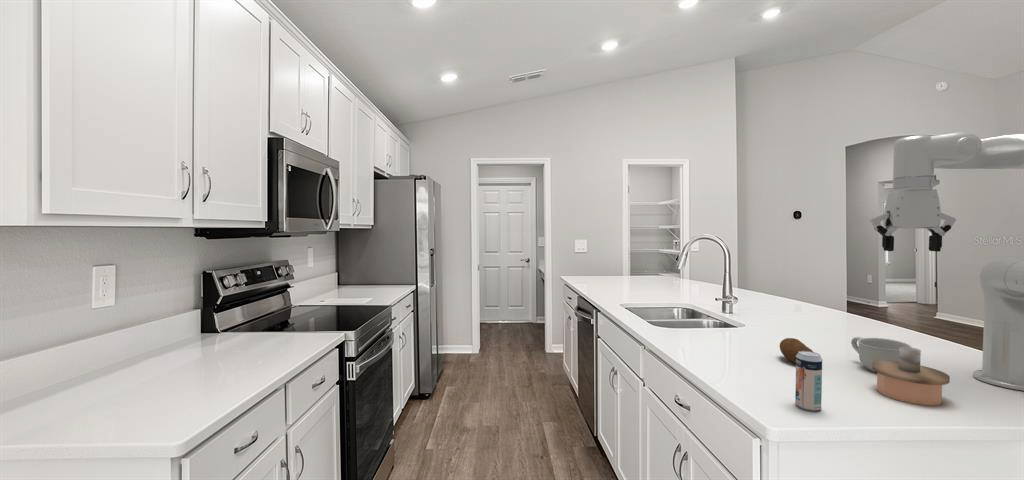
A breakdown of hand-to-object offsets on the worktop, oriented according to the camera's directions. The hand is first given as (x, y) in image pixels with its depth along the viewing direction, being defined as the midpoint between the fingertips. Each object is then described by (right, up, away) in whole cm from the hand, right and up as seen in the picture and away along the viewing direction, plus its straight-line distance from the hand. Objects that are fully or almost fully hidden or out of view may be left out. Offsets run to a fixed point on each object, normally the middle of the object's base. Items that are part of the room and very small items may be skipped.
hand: (911, 251), depth 106 cm
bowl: (-11, -34, -10) cm, 37 cm away
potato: (-21, -33, +13) cm, 42 cm away
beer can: (-39, -34, -16) cm, 54 cm away
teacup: (-2, -33, +7) cm, 34 cm away
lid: (-11, -29, -10) cm, 32 cm away
